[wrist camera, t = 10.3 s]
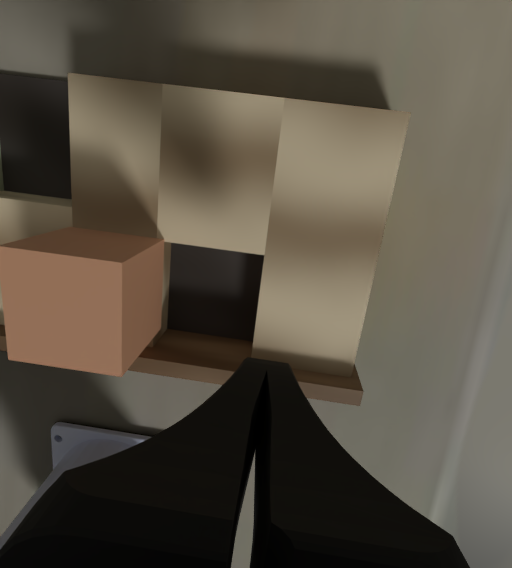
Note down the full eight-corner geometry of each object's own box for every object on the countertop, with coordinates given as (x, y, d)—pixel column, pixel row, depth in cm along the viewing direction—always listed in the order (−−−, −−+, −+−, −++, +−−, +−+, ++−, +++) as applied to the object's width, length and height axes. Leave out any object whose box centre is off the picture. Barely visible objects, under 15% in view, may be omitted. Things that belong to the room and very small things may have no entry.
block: (160, 328, 18) (121, 376, 14) (73, 315, 19) (8, 359, 14) (164, 239, 17) (122, 263, 13) (69, 226, 17) (-3, 245, 13)
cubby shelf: (348, 367, 21) (359, 406, 17) (-77, 303, 22) (-144, 328, 19) (406, 102, 17) (437, 85, 13) (-120, 41, 18) (-216, 12, 15)
